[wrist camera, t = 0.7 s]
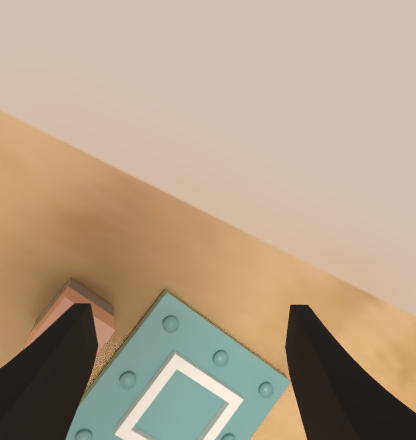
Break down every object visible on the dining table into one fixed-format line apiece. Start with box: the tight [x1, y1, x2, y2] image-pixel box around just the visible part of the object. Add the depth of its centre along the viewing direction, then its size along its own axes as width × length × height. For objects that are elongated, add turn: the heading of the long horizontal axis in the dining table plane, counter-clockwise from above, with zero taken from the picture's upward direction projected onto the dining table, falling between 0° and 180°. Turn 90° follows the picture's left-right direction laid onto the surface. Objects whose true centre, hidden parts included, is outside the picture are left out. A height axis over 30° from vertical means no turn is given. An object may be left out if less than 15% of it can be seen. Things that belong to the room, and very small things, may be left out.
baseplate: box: [66, 290, 291, 440], centre depth 34 cm, size 16×16×2 cm
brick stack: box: [24, 278, 116, 355], centre depth 29 cm, size 4×4×6 cm
